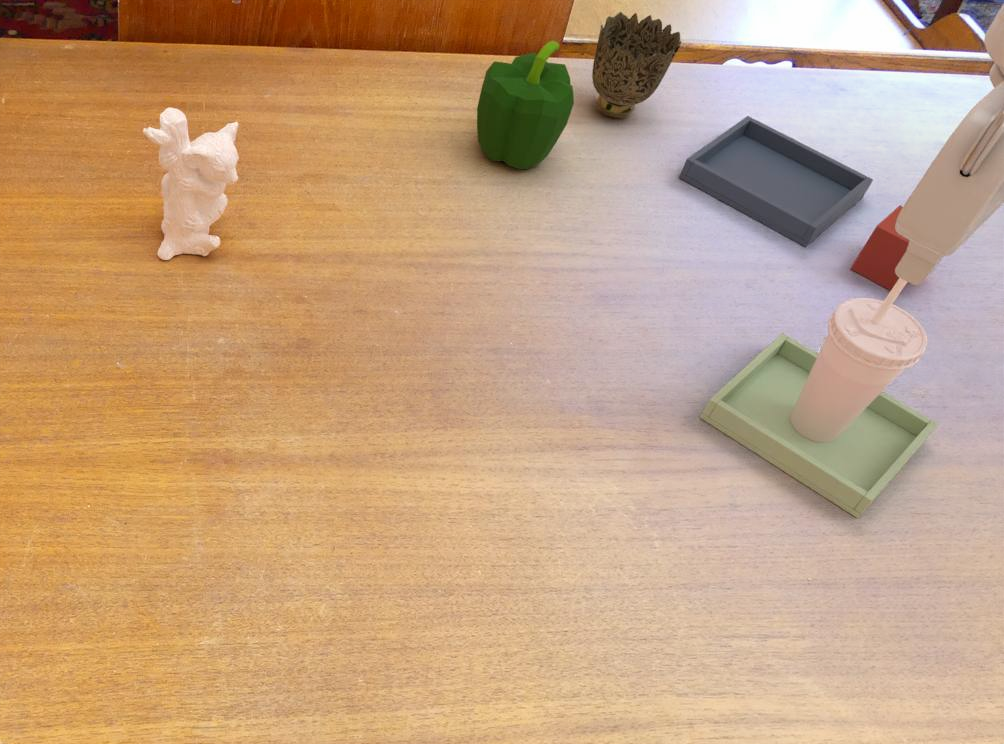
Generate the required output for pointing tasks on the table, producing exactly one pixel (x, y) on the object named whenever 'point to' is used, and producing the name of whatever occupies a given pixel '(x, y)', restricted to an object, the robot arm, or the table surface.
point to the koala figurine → (192, 182)
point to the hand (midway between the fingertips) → (942, 244)
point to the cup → (631, 62)
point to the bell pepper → (524, 108)
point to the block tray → (775, 180)
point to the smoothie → (856, 363)
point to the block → (882, 253)
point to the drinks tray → (821, 466)
